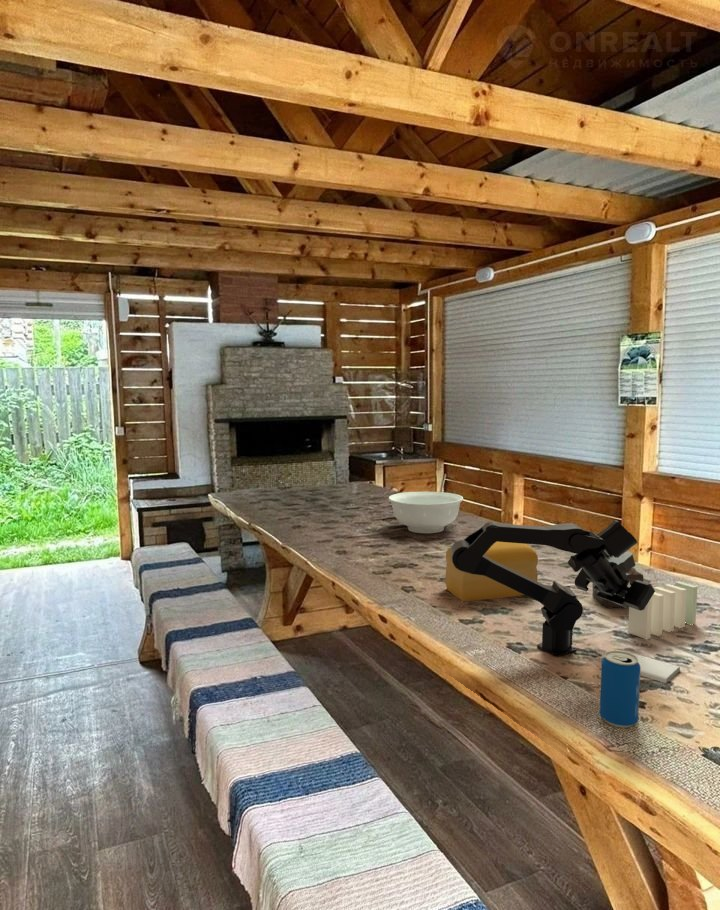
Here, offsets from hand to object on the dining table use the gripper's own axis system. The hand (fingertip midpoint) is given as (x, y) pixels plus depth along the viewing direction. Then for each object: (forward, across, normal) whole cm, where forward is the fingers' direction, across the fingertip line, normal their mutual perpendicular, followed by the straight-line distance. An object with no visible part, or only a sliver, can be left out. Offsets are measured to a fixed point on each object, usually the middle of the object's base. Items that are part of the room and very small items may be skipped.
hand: (628, 606), depth 149 cm
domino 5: (+22, 0, -10) cm, 24 cm away
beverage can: (-17, -24, +29) cm, 42 cm away
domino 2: (+12, 0, -1) cm, 12 cm away
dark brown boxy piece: (+21, +21, -9) cm, 31 cm away
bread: (+3, +44, +9) cm, 45 cm away
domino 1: (+9, 0, +2) cm, 9 cm away
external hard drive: (-1, -12, +14) cm, 18 cm away
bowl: (+24, +122, -12) cm, 125 cm away
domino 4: (+19, 0, -7) cm, 20 cm away
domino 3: (+16, 0, -4) cm, 16 cm away
